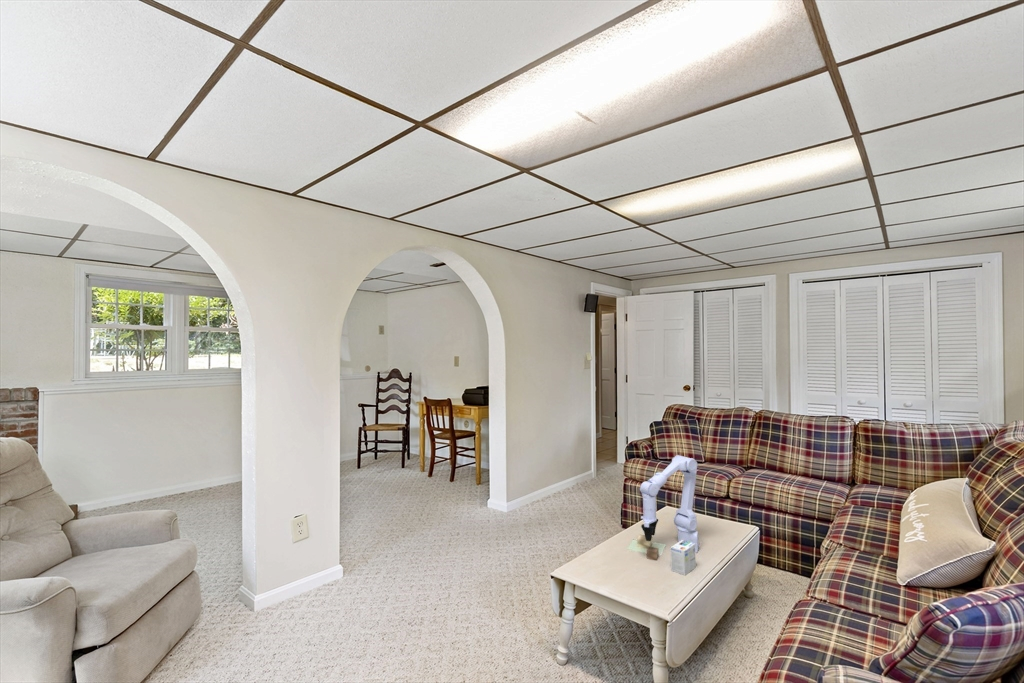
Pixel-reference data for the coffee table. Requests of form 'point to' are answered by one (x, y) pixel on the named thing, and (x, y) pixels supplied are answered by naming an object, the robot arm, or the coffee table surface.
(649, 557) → the walnut brick
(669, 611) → the coffee table surface
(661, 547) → the plate
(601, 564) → the coffee table surface
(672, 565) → the light bulb box
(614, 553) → the coffee table surface
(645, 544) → the maple base brick
